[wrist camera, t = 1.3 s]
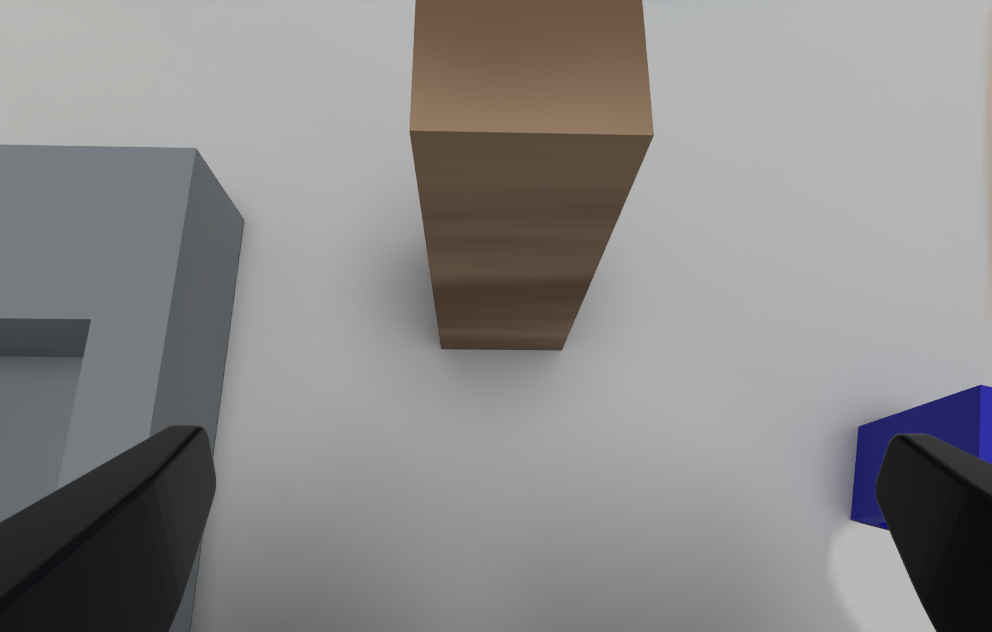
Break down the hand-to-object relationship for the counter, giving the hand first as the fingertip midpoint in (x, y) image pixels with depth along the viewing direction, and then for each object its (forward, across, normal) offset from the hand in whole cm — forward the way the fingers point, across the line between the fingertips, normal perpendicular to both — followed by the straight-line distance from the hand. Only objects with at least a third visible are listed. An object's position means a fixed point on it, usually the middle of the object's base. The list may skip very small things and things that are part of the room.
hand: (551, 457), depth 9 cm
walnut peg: (+14, 0, +4) cm, 15 cm away
